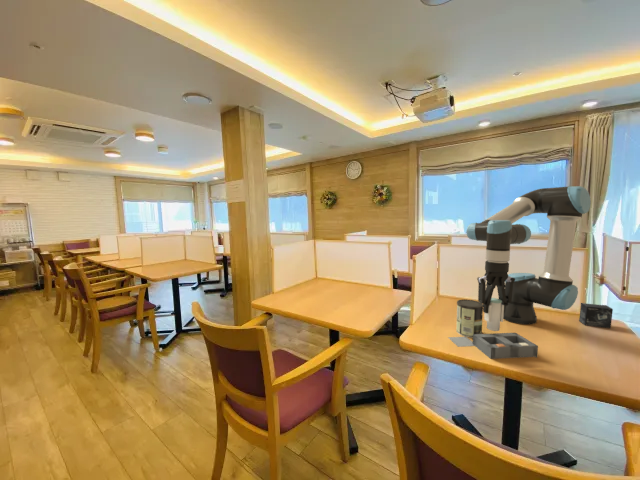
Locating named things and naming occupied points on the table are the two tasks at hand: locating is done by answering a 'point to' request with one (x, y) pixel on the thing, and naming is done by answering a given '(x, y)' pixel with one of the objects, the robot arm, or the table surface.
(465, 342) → the mat
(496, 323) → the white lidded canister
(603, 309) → the box
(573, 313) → the table surface
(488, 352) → the socket box
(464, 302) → the coffee can
